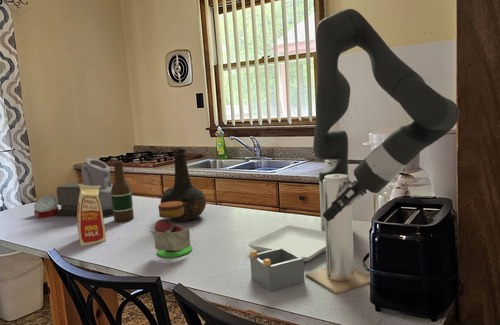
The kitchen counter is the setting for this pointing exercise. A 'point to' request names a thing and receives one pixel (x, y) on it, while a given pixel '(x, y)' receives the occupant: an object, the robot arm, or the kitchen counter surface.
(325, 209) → the white tall cylinder
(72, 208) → the juicer
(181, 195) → the glass bottle
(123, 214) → the beer bottle
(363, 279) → the mat
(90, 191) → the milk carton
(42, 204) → the red white domed cylinder
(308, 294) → the kitchen counter surface
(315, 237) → the salad plate
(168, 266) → the kitchen counter surface
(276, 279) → the box
